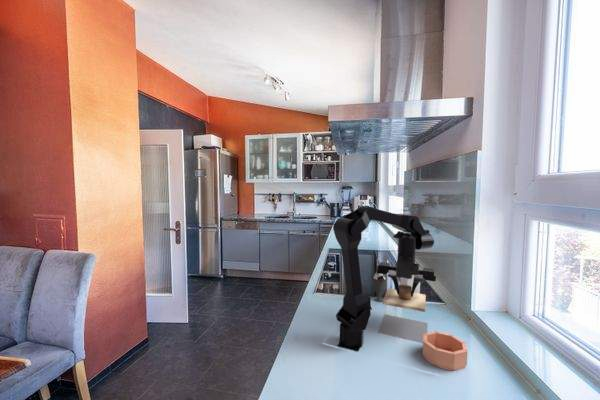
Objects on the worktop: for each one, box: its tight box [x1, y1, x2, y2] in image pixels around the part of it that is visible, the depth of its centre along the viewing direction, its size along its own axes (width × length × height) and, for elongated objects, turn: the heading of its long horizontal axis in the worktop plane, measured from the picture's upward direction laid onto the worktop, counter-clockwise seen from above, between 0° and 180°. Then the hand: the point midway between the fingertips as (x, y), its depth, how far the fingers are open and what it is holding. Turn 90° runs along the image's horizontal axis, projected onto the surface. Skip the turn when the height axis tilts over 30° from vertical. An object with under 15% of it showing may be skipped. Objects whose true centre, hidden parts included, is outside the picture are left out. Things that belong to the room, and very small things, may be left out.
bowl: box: [422, 330, 468, 371], centre depth 81 cm, size 11×11×5 cm
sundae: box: [370, 271, 388, 303], centre depth 120 cm, size 7×7×15 cm
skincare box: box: [399, 275, 421, 294], centre depth 121 cm, size 8×6×15 cm
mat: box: [377, 313, 429, 344], centre depth 97 cm, size 15×15×1 cm
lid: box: [382, 284, 427, 313], centre depth 97 cm, size 13×13×5 cm
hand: (404, 295), depth 97 cm, fingers closed on lid, 4 cm apart
